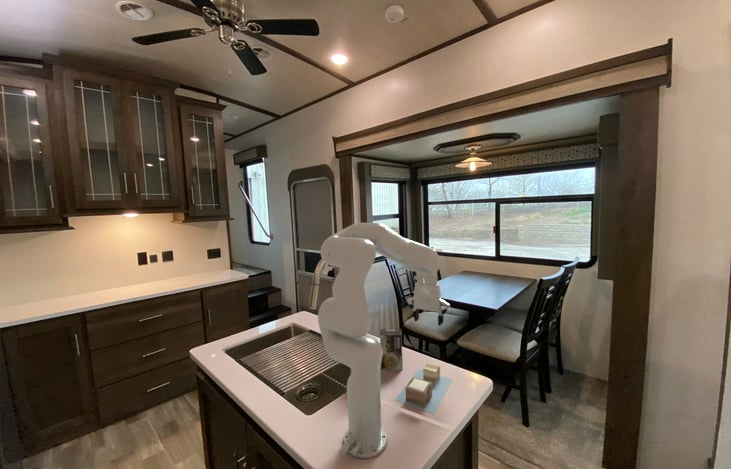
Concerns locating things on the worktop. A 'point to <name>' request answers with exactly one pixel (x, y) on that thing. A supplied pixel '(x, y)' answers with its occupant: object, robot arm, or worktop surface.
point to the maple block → (431, 373)
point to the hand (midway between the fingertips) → (428, 322)
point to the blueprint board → (435, 393)
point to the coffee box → (391, 349)
